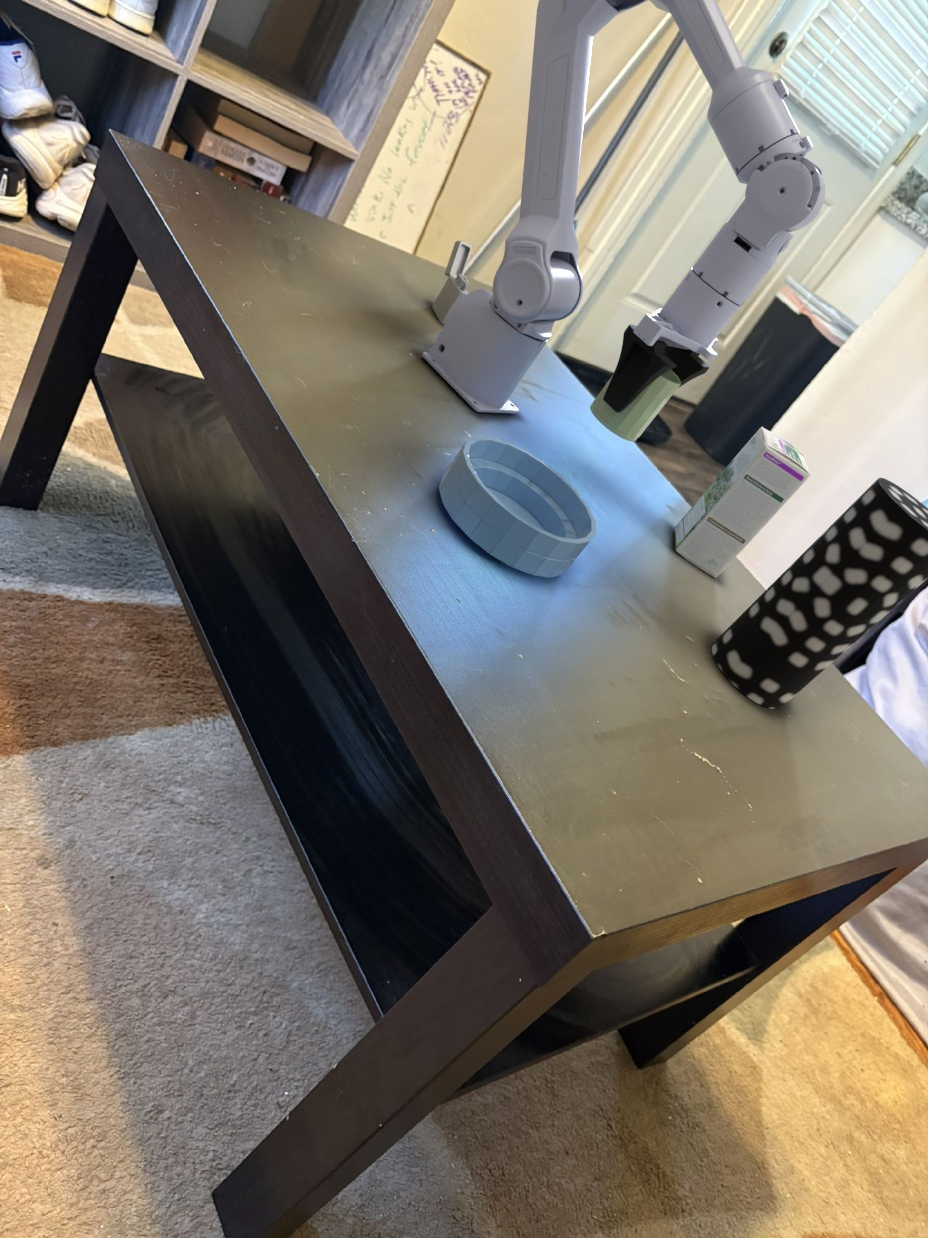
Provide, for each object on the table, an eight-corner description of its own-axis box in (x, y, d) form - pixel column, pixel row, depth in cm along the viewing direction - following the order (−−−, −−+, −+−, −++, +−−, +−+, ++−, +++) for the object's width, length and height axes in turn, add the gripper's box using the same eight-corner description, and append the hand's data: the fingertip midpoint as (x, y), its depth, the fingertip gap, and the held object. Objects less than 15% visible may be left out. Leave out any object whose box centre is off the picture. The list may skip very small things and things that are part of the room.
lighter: (452, 327, 105) (488, 268, 101) (440, 322, 104) (476, 262, 100) (436, 299, 109) (469, 241, 105) (425, 294, 108) (458, 235, 104)
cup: (580, 403, 87) (623, 344, 83) (606, 405, 91) (648, 348, 88) (620, 441, 85) (666, 383, 81) (645, 441, 90) (689, 385, 86)
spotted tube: (790, 724, 77) (976, 564, 67) (715, 678, 76) (894, 506, 66) (776, 670, 84) (942, 517, 74) (707, 626, 83) (867, 464, 72)
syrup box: (716, 580, 93) (816, 476, 85) (672, 550, 92) (768, 442, 84) (713, 555, 98) (806, 455, 90) (670, 527, 97) (761, 423, 89)
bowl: (407, 479, 71) (434, 435, 69) (496, 474, 81) (522, 436, 79) (509, 592, 67) (542, 550, 65) (589, 572, 77) (620, 535, 75)
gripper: (720, 304, 73) (620, 432, 80) (772, 321, 85) (681, 432, 92) (661, 254, 75) (569, 384, 82) (719, 278, 87) (634, 389, 94)
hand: (625, 406), depth 87 cm, fingers closed on cup, 6 cm apart
